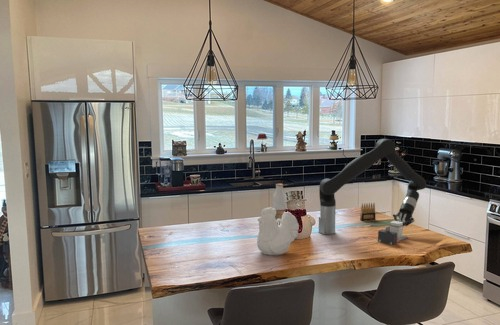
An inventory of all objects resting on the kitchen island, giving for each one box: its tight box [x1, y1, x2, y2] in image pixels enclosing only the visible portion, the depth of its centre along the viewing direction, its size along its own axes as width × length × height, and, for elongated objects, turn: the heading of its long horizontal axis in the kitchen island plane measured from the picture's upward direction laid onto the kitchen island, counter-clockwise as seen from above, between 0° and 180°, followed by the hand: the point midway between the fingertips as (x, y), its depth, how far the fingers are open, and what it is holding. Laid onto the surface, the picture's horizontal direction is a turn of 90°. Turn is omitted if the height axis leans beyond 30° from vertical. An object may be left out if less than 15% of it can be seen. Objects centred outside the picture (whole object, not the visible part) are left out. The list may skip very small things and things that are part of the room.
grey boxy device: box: [377, 225, 408, 246], centre depth 224 cm, size 18×9×10 cm, turn 134°
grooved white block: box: [389, 220, 404, 238], centre depth 227 cm, size 5×5×9 cm
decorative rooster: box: [256, 207, 300, 256], centre depth 208 cm, size 25×16×25 cm, turn 108°
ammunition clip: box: [359, 202, 376, 222], centre depth 272 cm, size 11×2×12 cm, turn 104°
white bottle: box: [271, 183, 288, 225], centre depth 257 cm, size 9×9×28 cm
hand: (398, 230), depth 229 cm, fingers closed
